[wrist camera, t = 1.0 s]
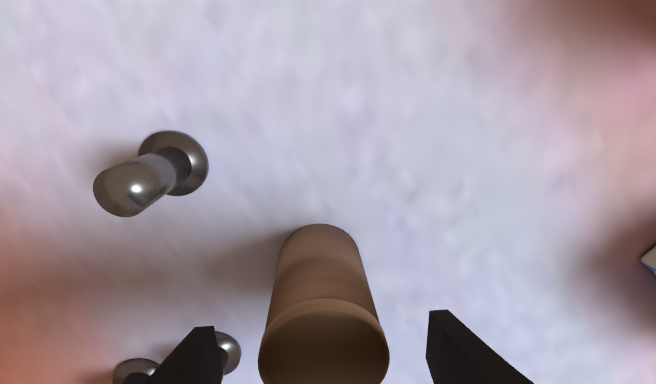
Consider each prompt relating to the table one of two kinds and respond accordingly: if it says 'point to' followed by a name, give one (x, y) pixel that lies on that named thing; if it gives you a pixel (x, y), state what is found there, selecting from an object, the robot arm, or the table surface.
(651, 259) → the medicine box
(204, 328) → the robot arm
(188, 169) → the slalom posts
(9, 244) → the table surface
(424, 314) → the table surface
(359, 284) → the walnut peg
